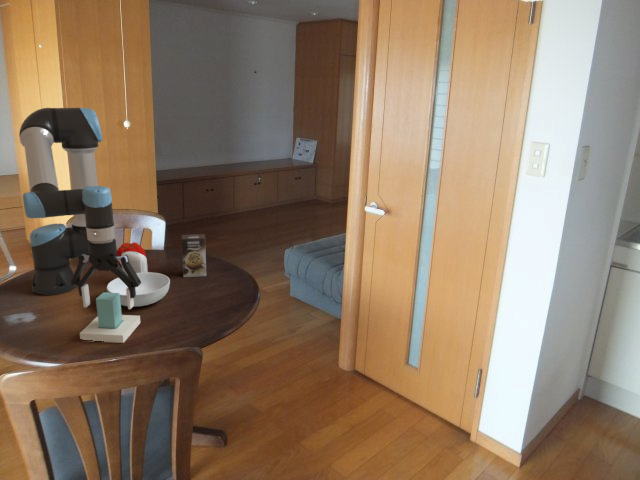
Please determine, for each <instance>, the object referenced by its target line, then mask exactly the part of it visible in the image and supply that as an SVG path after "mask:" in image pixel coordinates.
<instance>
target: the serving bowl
mask: <svg viewBox="0 0 640 480" xmlns="http://www.w3.org/2000/svg"><path fill="white" fill-rule="evenodd" d="M136 274H137V276H138V277H139V279H140V281H141V284H140V285H139V286H138V287H135V290H136V296H135V297H134V298H133V299H134V306H133V307H134V308H135V307H144V306H148V305H151V304H154V303H157V302H159V301H160V300H161V299H163V298H164V297H165V296H166V295H167V294H168V292H169V289H170V285H171V280H170V278H169V277H168V276H167V275H165V274H162V273H159V272H152V271H151V272H150V271H148V272H143V273H136ZM106 285H107V286H106V293H120V303H121V306H123V307H128V304H127V293H126V289H127V288H128V287H127V286H126V285H125V284H124V282H123V281H122V280H121V279H120V278H119V277H118V276H117V277H116V278H114V279H113V280H111V281H110V282H108V284H106ZM133 307H132V308H133Z"/></svg>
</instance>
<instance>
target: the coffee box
mask: <svg viewBox="0 0 640 480" xmlns="http://www.w3.org/2000/svg"><path fill="white" fill-rule="evenodd" d="M181 243H182V244H181V249H182V269H183V270H182V273H183V274H182V276H183V278H192V277H194V278H197V277H198V278H199V277H207V257H206V255H207V253H206V234H205V233H203V234H202V233H201V234H196V233H195V234H182V235H181Z"/></svg>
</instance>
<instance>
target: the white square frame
mask: <svg viewBox="0 0 640 480" xmlns="http://www.w3.org/2000/svg"><path fill="white" fill-rule="evenodd" d="M140 324H141V315H134V314H133V315H129V314H122V323H121V324H120V325H119V326H118V328H117V329H104V328H99V322H98V315H97V316H96V317H95V318H94V319H93V320H91V322H90V323H89V324H88V325H87V326H85V327H84V329H83V330H81V331H80V332H79V338H80V339H83V340H93V341H92V342H94V341H102V343H121V344H124V343H125V342H126V341H127V339H128V338H129V337H131V335H132V334H133V332H134V331H135V330H136V329H137V327H138V326H139V325H140ZM80 339H79V340H80ZM103 341H104V342H103Z"/></svg>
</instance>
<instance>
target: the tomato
mask: <svg viewBox="0 0 640 480" xmlns="http://www.w3.org/2000/svg"><path fill="white" fill-rule="evenodd" d="M129 251H132V252H137V253H140V254H142V255H144V256H145V257H146V258H147V254H146V251H145V249H144V248H143V247H142V246H141V245H140V244H139V243H138V242H132V243H131V242H130V243H129V242H124V243H123V244H121V245H120V246H119V247H118V248H117V256H118V257H121V255H122V253H125V252H129ZM117 263H118V264H119V265H120V266H122V265H121V264H120V262H119V261H118V262H117Z"/></svg>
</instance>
